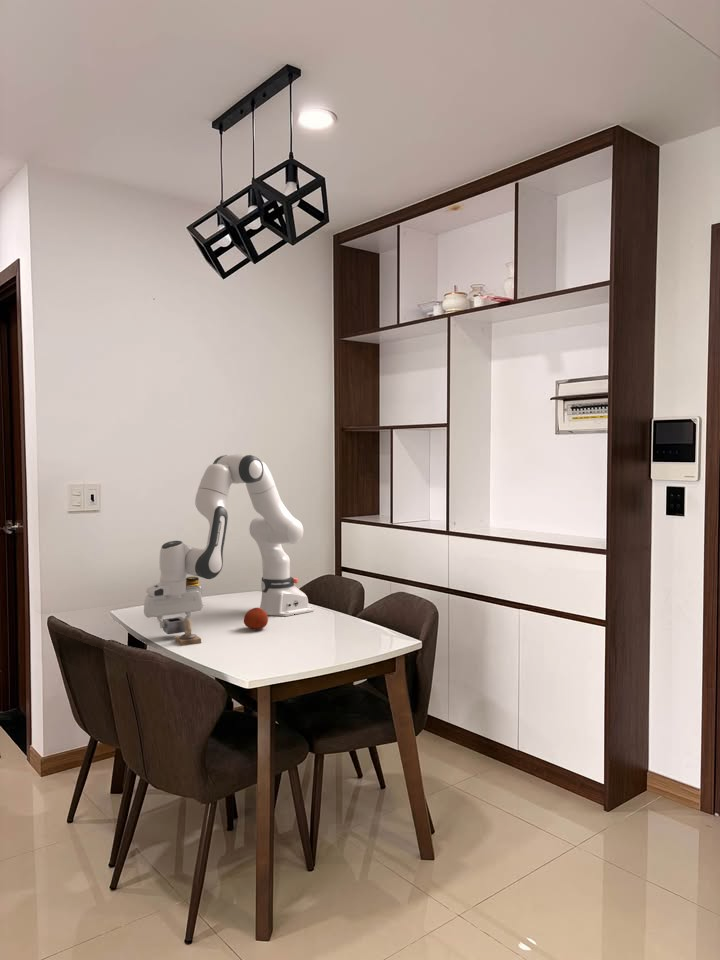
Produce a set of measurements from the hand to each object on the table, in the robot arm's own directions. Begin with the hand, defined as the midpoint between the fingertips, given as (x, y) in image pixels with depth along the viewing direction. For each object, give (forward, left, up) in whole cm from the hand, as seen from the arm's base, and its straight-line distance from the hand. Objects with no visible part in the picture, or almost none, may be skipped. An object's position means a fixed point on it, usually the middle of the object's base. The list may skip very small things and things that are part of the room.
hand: (174, 626), depth 260 cm
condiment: (-20, -47, -4) cm, 51 cm away
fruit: (-29, +3, -4) cm, 30 cm away
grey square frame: (0, 0, -2) cm, 2 cm away
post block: (-2, +8, -4) cm, 9 cm away
